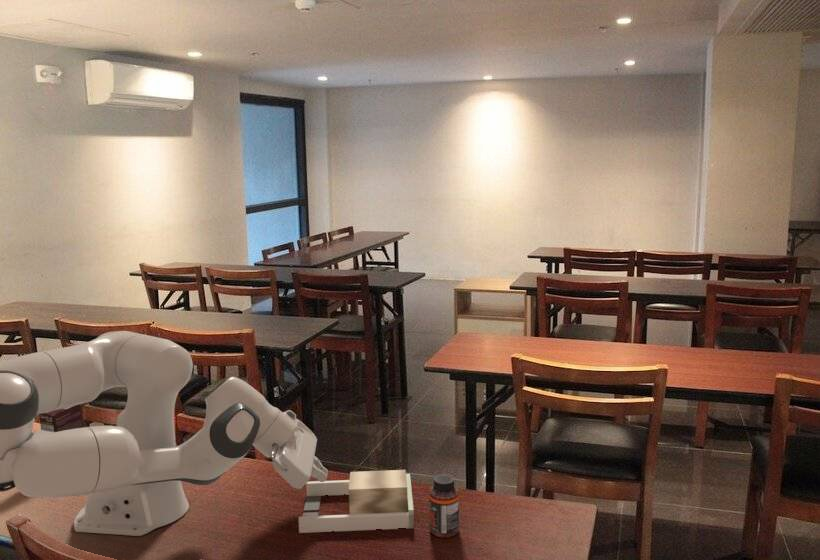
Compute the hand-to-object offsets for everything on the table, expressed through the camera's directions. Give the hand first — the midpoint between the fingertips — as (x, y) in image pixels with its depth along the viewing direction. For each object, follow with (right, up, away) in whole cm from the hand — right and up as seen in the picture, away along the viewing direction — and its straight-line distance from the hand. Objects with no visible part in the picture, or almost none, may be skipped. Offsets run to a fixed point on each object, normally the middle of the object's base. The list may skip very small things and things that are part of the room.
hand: (325, 477), depth 145 cm
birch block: (+11, -7, +1) cm, 13 cm away
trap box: (+7, -7, +1) cm, 10 cm away
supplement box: (-66, -5, +23) cm, 70 cm away
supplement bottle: (+25, -9, -8) cm, 27 cm away
